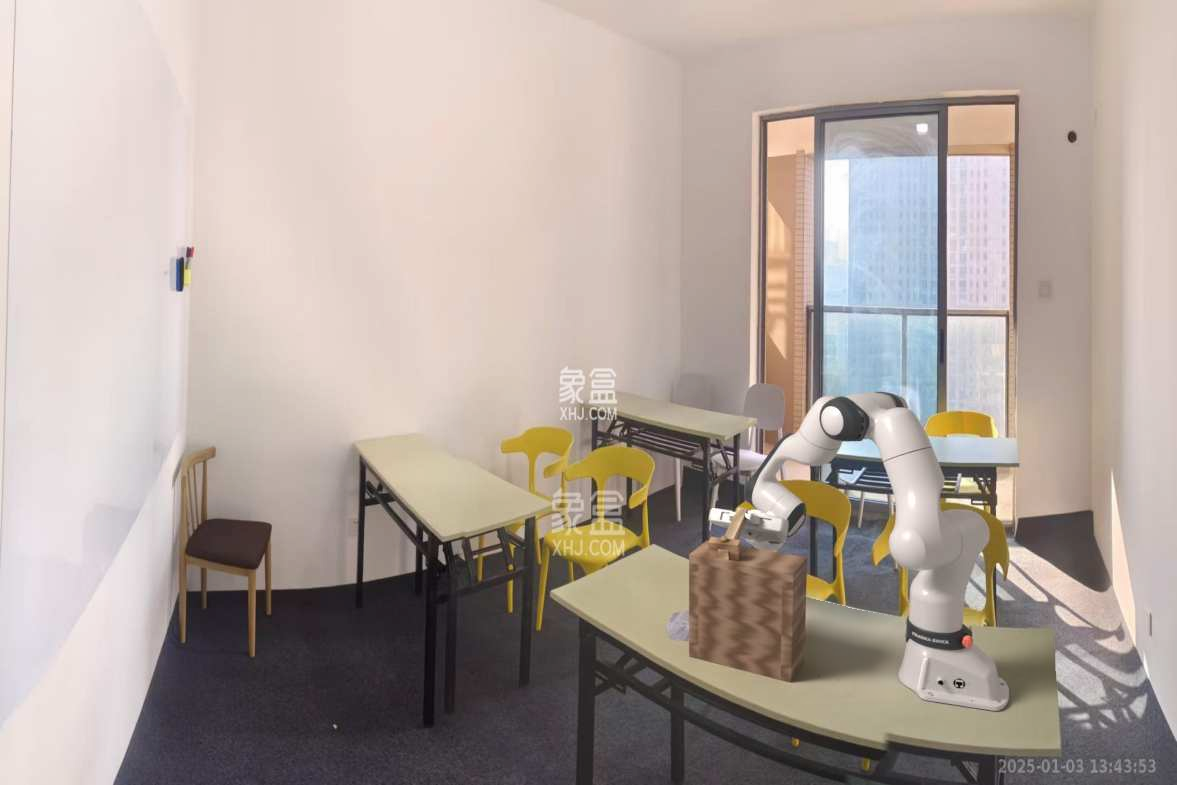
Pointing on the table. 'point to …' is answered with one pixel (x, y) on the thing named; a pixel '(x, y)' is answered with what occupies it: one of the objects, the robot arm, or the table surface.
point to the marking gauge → (729, 539)
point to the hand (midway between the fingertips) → (739, 515)
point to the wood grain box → (748, 611)
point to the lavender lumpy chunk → (679, 626)
